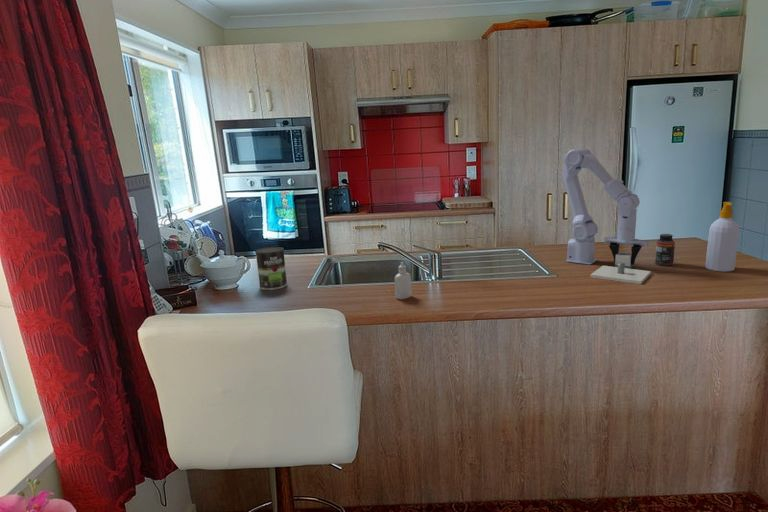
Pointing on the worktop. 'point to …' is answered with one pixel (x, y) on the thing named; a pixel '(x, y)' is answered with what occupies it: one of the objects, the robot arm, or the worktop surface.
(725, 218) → the soap bottle
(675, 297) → the worktop surface
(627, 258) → the sleeve
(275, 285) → the coffee can
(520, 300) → the worktop surface
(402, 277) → the eye dropper bottle
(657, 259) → the supplement bottle
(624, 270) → the pin board
